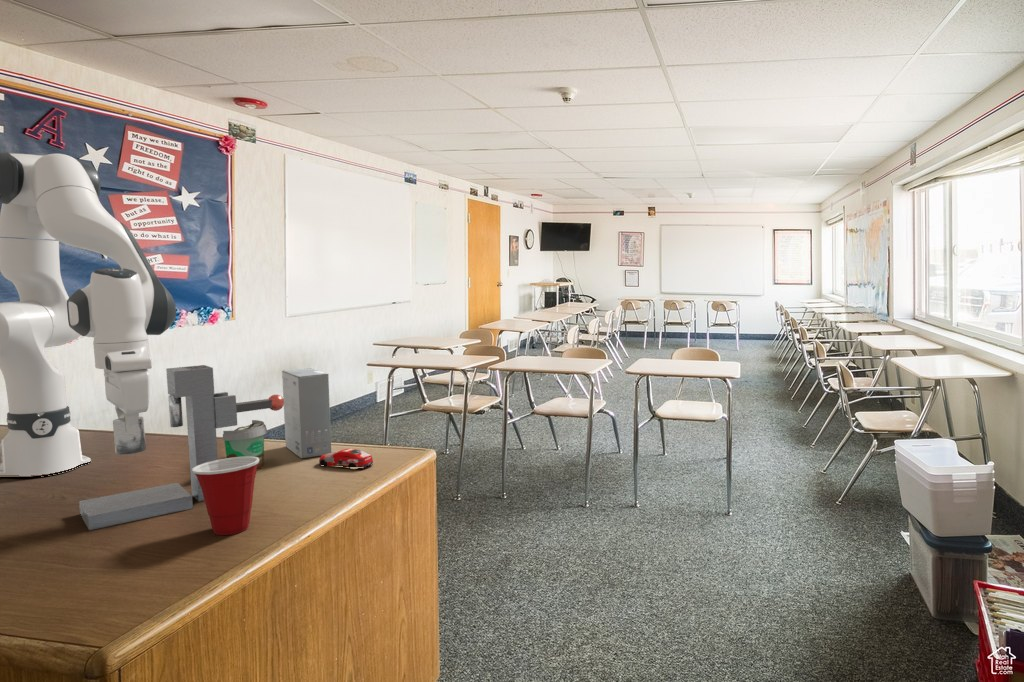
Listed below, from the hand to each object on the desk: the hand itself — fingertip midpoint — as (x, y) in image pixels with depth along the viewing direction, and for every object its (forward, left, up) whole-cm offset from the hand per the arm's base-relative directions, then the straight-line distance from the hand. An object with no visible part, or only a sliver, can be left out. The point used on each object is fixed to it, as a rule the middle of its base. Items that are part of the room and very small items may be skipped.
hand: (128, 430), depth 130 cm
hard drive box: (-22, +43, -16) cm, 51 cm away
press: (0, +5, -15) cm, 16 cm away
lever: (-1, +23, 0) cm, 23 cm away
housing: (0, 0, -4) cm, 4 cm away
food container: (-15, +27, -16) cm, 34 cm away
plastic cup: (+21, +11, -16) cm, 29 cm away
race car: (-2, +44, -16) cm, 47 cm away
